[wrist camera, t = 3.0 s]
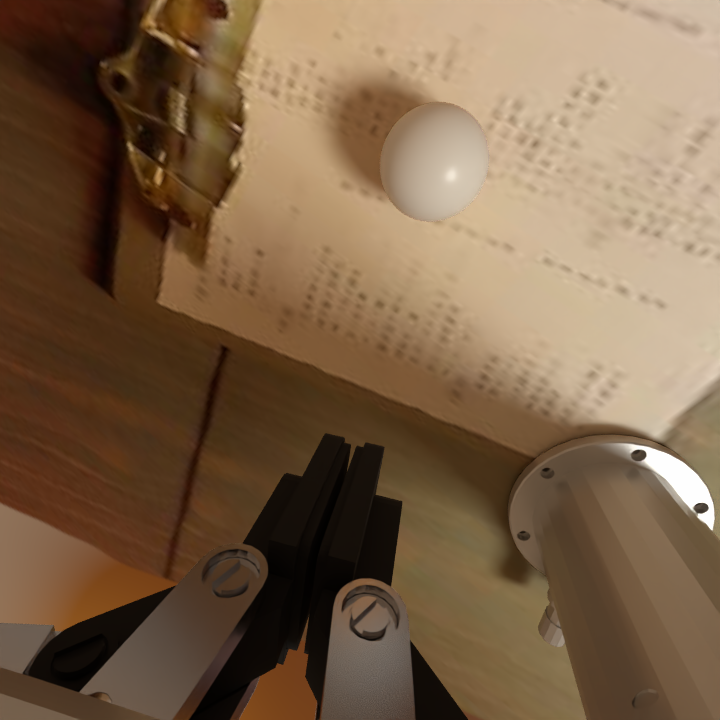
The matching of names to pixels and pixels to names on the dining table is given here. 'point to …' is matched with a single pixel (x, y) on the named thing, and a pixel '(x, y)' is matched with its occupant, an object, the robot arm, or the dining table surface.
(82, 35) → the dining table surface
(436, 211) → the cue ball
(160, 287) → the dining table surface
